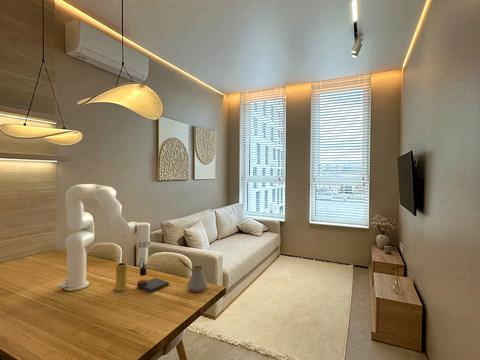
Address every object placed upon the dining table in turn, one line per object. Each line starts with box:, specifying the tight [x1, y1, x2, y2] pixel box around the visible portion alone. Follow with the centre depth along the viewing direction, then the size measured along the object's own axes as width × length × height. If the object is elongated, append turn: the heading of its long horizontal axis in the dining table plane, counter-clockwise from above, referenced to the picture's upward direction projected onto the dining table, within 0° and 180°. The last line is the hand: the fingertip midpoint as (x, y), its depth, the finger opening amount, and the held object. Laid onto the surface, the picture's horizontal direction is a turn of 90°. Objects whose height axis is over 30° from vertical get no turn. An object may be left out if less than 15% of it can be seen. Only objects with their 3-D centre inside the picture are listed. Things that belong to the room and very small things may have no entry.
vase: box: [114, 262, 128, 292], centre depth 151 cm, size 6×6×14 cm
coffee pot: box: [177, 258, 208, 293], centre depth 155 cm, size 21×12×15 cm, turn 57°
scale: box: [137, 277, 170, 294], centre depth 155 cm, size 14×13×4 cm
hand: (143, 275), depth 154 cm, fingers closed
